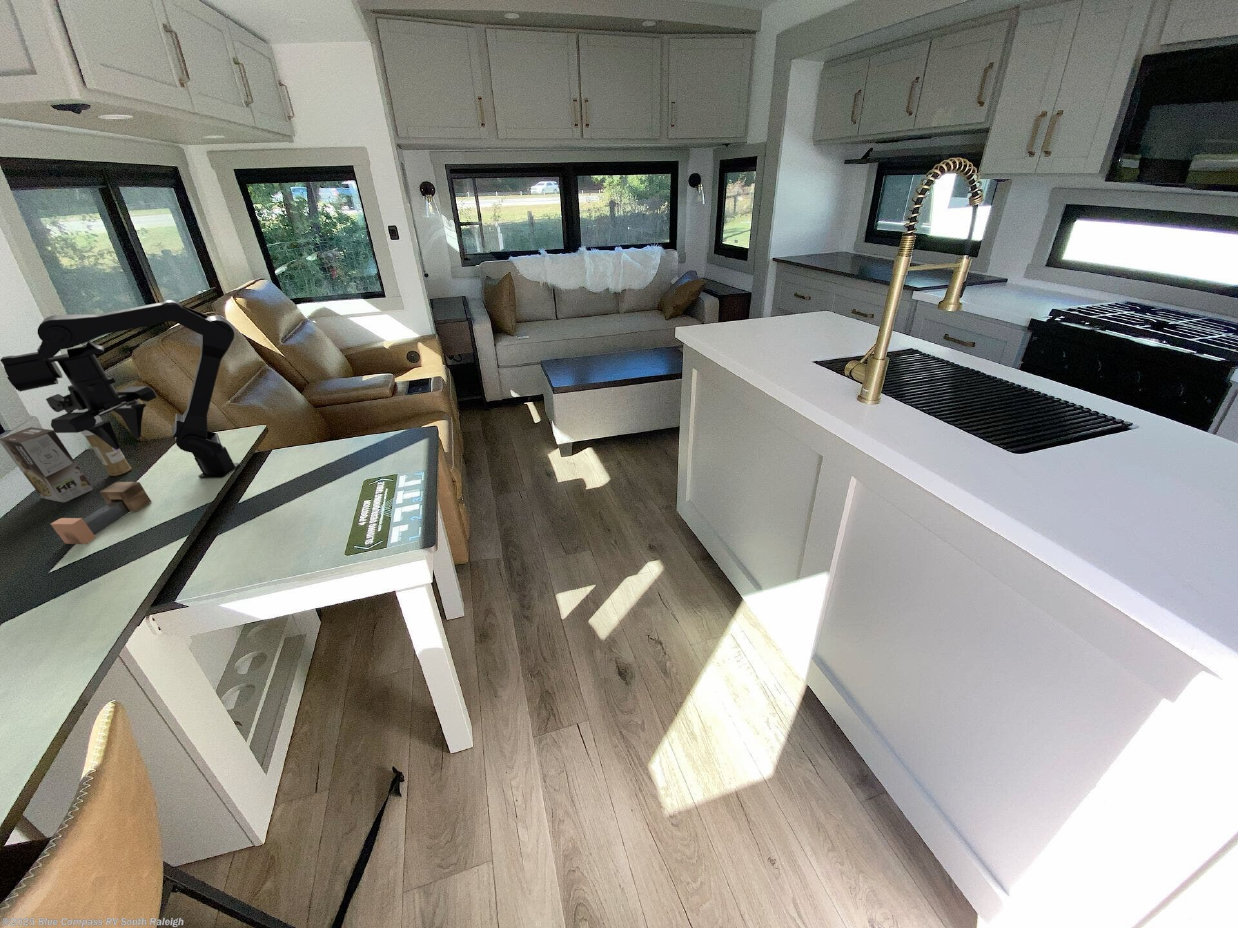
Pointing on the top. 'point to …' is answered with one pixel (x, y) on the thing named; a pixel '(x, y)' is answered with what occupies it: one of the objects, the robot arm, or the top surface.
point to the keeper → (127, 494)
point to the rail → (105, 516)
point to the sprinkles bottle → (108, 455)
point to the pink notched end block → (73, 530)
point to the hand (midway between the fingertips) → (127, 443)
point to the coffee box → (46, 464)
